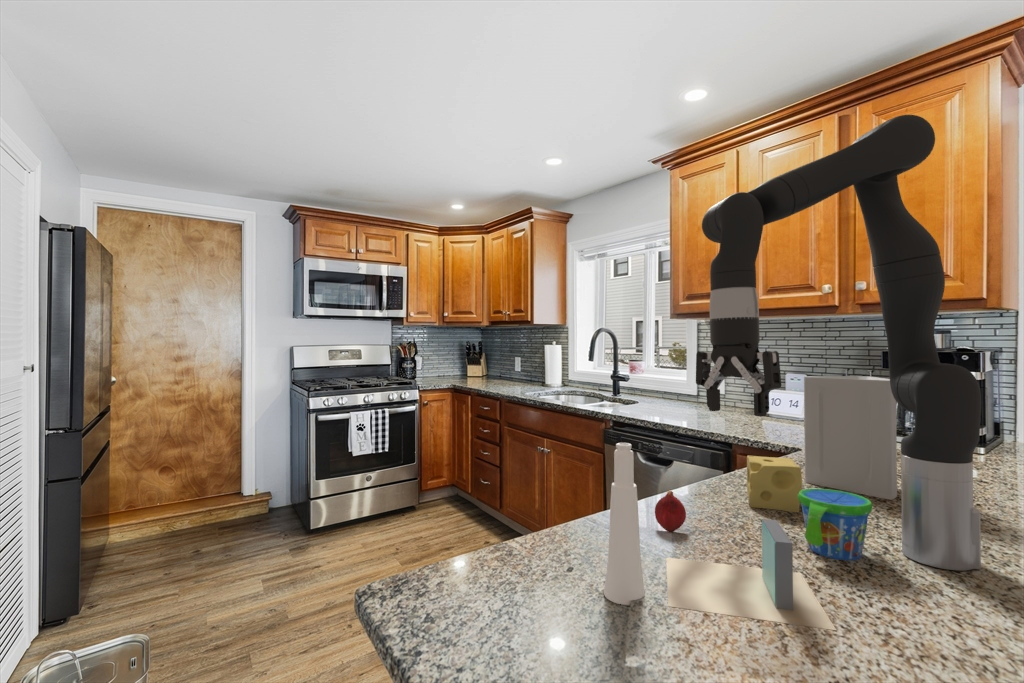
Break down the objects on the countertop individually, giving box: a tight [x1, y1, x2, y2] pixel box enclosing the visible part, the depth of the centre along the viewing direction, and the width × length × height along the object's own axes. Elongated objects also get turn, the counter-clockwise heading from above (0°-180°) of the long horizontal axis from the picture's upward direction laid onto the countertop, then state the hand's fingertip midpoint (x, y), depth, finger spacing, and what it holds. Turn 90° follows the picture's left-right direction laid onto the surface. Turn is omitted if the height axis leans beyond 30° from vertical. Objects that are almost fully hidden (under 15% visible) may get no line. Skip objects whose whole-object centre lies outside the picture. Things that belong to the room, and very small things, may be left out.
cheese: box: [746, 455, 803, 513], centre depth 112 cm, size 10×11×10 cm
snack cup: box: [798, 488, 874, 562], centre depth 84 cm, size 16×10×10 cm
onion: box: [654, 490, 687, 533], centre depth 95 cm, size 6×6×8 cm
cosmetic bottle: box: [603, 442, 646, 606], centre depth 71 cm, size 6×6×22 cm
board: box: [665, 556, 837, 632], centre depth 71 cm, size 20×16×1 cm
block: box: [761, 518, 794, 611], centre depth 70 cm, size 2×9×9 cm, turn 163°
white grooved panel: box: [803, 375, 898, 501], centre depth 127 cm, size 19×15×28 cm
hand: (736, 413), depth 82 cm, fingers open, 8 cm apart
